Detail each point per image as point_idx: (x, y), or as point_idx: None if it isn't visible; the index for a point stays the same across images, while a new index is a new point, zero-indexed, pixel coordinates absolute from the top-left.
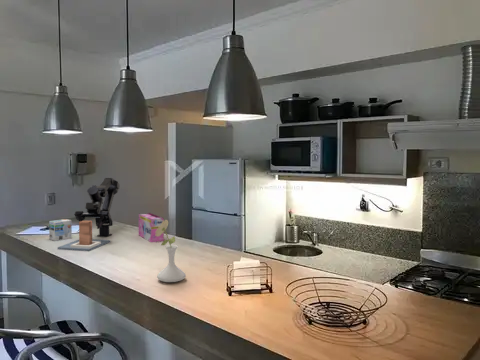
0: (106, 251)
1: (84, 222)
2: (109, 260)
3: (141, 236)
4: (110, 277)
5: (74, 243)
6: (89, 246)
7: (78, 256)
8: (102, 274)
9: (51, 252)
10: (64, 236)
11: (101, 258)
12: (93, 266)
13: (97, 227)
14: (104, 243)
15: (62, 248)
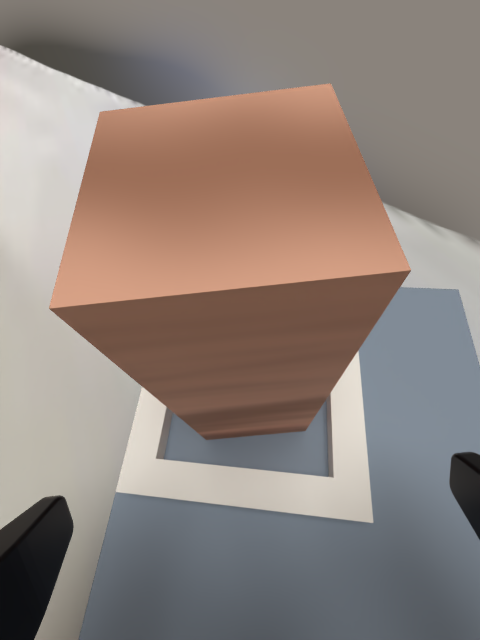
0: (48, 301)
1: (197, 103)
2: (15, 162)
3: None
4: (3, 54)
5: (431, 464)
6: None
7: None
8: (29, 63)
9: (412, 222)
10: None
11: (58, 179)
12: (72, 102)
13: (48, 502)
14: (101, 565)
15: (406, 292)
